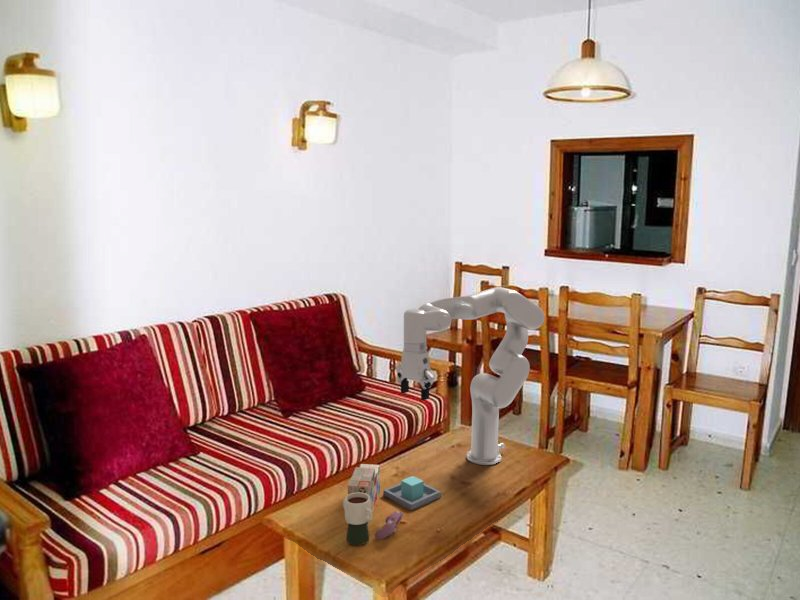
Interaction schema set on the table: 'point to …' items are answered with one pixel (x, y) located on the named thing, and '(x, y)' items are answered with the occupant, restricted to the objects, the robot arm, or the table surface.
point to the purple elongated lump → (389, 525)
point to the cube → (412, 488)
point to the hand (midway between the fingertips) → (414, 396)
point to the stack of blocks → (366, 482)
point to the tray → (395, 495)
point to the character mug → (357, 517)
